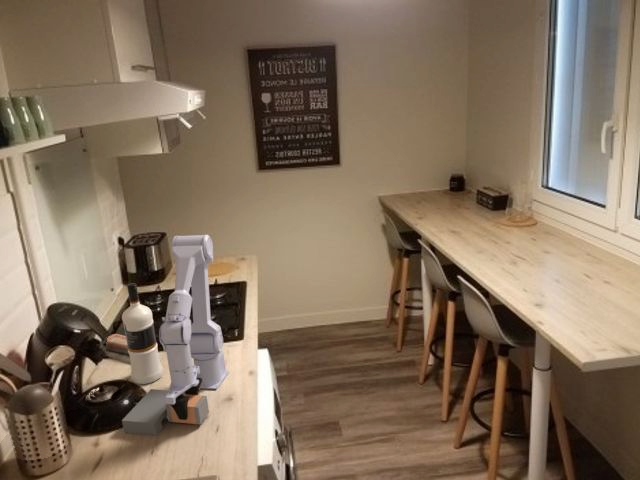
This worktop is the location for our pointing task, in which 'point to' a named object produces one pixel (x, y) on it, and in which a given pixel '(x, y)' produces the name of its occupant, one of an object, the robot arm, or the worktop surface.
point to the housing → (191, 410)
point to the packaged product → (117, 348)
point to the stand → (147, 414)
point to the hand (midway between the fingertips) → (188, 412)
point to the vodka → (141, 340)
